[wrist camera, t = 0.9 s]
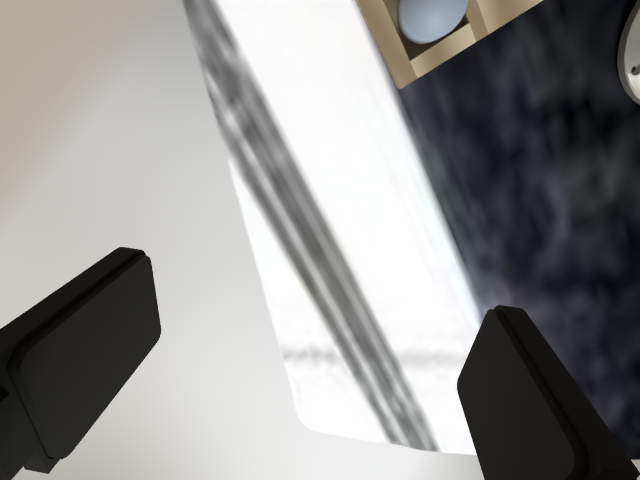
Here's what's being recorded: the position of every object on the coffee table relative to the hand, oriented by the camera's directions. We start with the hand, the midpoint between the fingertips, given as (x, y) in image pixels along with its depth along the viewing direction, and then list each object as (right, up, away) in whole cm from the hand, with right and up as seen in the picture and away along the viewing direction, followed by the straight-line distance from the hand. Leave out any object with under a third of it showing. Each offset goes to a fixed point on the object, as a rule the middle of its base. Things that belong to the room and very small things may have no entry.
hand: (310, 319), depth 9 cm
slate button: (+9, +20, +16) cm, 28 cm away
